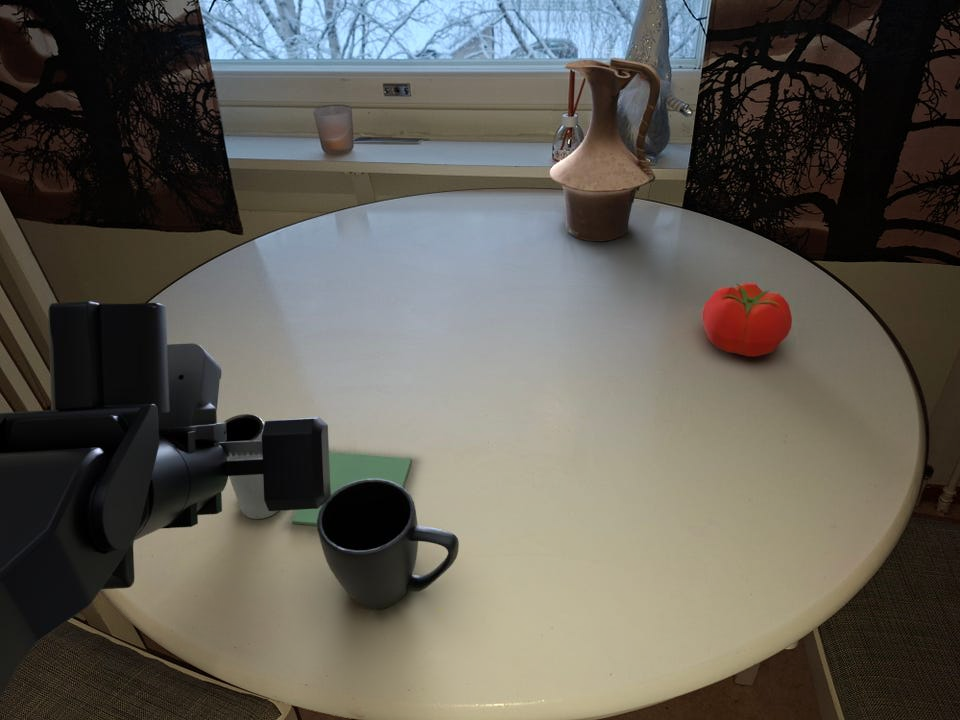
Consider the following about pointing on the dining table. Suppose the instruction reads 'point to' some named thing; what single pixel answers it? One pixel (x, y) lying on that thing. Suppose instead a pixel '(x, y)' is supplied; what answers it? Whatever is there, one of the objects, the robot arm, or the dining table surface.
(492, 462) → the dining table surface
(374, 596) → the mug
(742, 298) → the tomato
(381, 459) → the green mat
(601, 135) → the pitcher
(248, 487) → the grey tumbler
